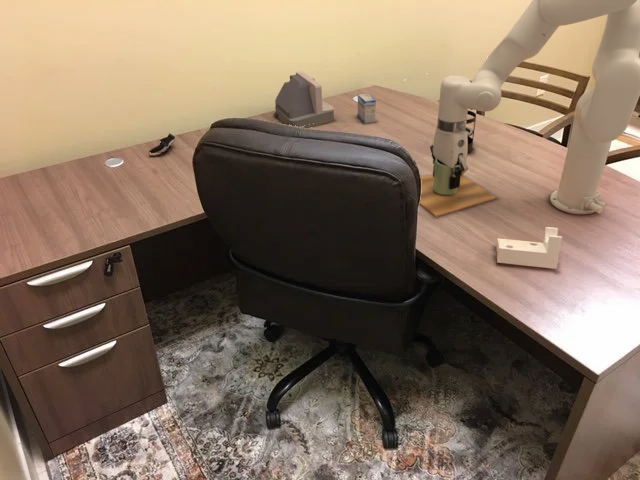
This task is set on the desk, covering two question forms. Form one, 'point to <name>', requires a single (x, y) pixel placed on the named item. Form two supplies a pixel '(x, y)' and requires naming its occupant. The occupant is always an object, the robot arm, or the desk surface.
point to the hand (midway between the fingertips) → (445, 181)
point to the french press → (470, 130)
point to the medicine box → (366, 108)
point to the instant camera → (302, 102)
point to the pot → (442, 178)
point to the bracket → (531, 250)
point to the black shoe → (163, 145)
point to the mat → (452, 197)
